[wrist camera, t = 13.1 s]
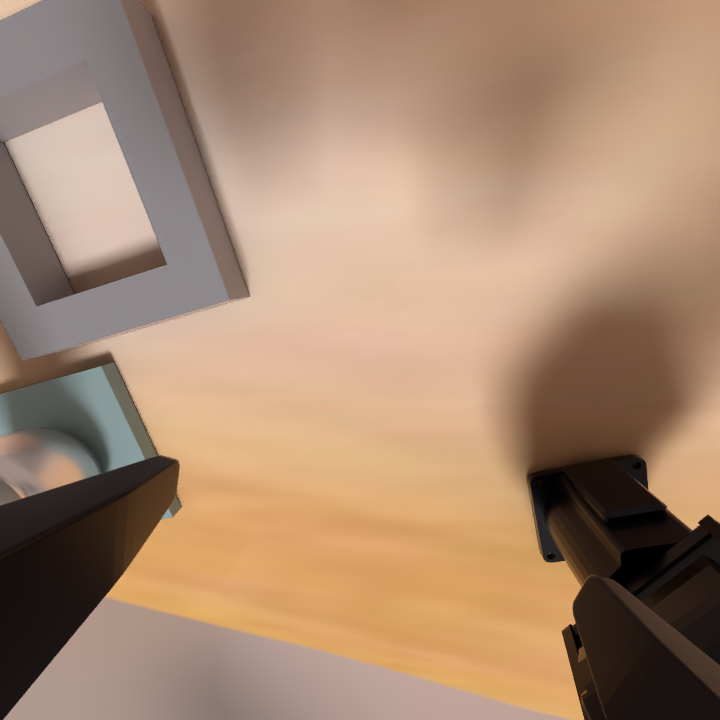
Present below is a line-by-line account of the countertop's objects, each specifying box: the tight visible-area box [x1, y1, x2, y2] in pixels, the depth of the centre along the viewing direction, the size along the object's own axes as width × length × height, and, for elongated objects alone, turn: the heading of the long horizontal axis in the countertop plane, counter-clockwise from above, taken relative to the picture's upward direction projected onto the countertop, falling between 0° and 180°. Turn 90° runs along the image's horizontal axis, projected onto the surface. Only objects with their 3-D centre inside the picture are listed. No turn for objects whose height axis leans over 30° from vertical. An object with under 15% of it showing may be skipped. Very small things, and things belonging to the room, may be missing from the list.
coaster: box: [0, 362, 181, 519], centre depth 22 cm, size 11×11×1 cm
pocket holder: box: [0, 0, 250, 361], centre depth 17 cm, size 14×13×2 cm
